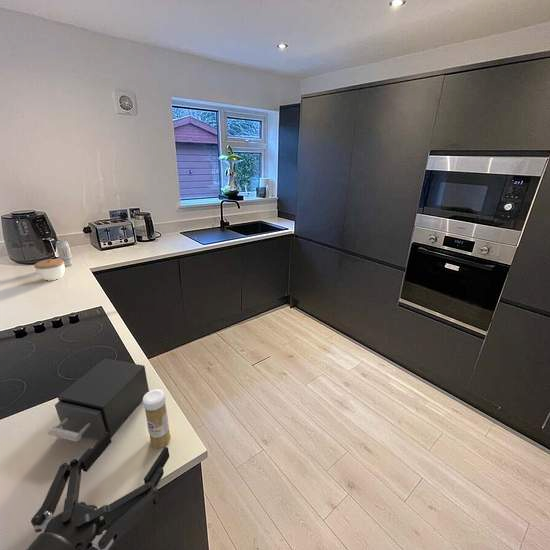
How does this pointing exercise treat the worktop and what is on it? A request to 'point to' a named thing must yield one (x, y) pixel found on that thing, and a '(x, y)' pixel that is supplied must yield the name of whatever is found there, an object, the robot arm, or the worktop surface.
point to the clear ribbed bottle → (64, 252)
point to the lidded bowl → (50, 269)
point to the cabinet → (110, 391)
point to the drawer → (78, 421)
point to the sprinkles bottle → (157, 418)
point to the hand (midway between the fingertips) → (137, 444)
